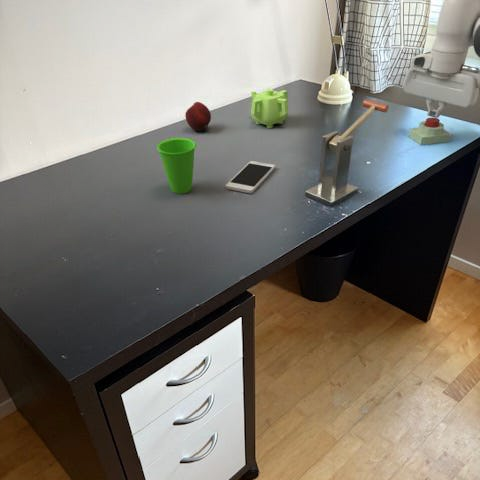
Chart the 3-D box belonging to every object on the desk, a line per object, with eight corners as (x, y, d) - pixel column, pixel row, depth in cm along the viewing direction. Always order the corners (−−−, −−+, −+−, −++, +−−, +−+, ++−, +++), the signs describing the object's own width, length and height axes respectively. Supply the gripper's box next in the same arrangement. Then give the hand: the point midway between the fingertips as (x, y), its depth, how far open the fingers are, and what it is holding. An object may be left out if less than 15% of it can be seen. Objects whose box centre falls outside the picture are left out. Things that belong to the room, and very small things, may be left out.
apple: (199, 123, 151) (197, 97, 145) (217, 129, 147) (216, 102, 141) (182, 130, 147) (179, 103, 141) (200, 136, 143) (198, 108, 137)
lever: (367, 105, 111) (366, 96, 110) (388, 111, 108) (388, 102, 106) (323, 149, 108) (321, 140, 106) (344, 156, 105) (343, 147, 103)
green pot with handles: (287, 116, 154) (288, 83, 147) (289, 129, 145) (290, 95, 139) (250, 116, 154) (250, 84, 148) (250, 130, 146) (250, 96, 139)
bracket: (331, 181, 118) (337, 125, 109) (357, 192, 114) (366, 134, 105) (305, 195, 113) (309, 137, 104) (331, 207, 109) (338, 147, 100)
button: (433, 123, 136) (435, 116, 135) (440, 127, 133) (442, 121, 132) (422, 124, 136) (423, 118, 134) (429, 129, 133) (430, 122, 132)
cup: (155, 190, 117) (148, 146, 110) (182, 177, 122) (178, 134, 115) (180, 201, 113) (174, 156, 105) (207, 187, 118) (203, 144, 110)
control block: (436, 132, 140) (439, 118, 137) (449, 141, 135) (453, 127, 132) (408, 136, 139) (411, 122, 136) (420, 145, 134) (423, 130, 131)
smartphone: (225, 188, 117) (225, 185, 116) (250, 163, 127) (250, 160, 126) (251, 193, 114) (251, 190, 114) (275, 168, 125) (275, 164, 124)
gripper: (491, 66, 119) (474, 122, 129) (418, 52, 131) (408, 105, 140) (479, 72, 116) (462, 129, 126) (406, 57, 128) (395, 110, 137)
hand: (433, 116), depth 133 cm, fingers closed
